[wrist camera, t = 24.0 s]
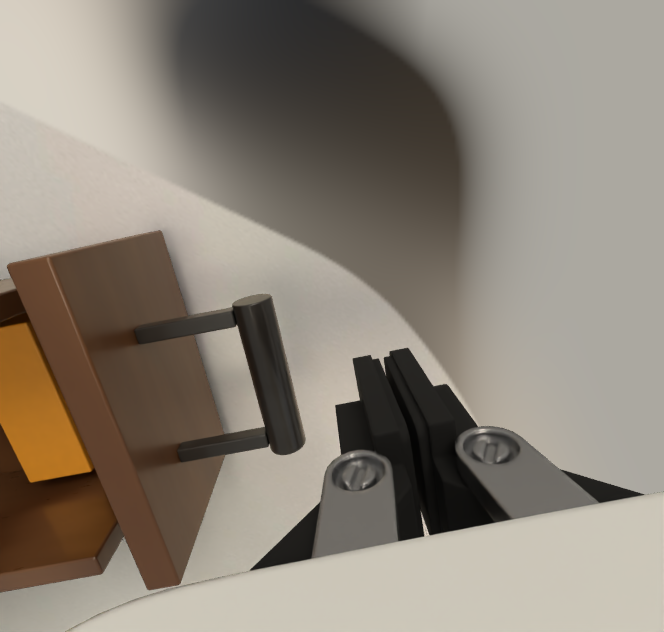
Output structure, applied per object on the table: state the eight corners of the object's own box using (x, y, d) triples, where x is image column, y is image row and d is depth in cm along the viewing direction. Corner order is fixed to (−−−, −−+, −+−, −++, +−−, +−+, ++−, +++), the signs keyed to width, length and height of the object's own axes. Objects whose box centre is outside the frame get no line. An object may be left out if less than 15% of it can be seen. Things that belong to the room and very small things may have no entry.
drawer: (268, 209, 18) (234, 219, 10) (318, 430, 21) (320, 561, 14) (-130, 286, 18) (-452, 352, 10) (-17, 491, 21) (-198, 653, 14)
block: (2, 317, 17) (-45, 335, 15) (63, 305, 17) (25, 322, 15) (62, 449, 20) (29, 483, 17) (118, 439, 19) (91, 472, 17)
